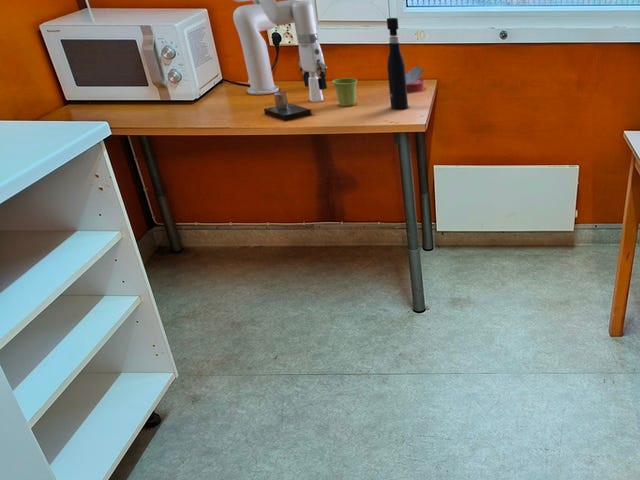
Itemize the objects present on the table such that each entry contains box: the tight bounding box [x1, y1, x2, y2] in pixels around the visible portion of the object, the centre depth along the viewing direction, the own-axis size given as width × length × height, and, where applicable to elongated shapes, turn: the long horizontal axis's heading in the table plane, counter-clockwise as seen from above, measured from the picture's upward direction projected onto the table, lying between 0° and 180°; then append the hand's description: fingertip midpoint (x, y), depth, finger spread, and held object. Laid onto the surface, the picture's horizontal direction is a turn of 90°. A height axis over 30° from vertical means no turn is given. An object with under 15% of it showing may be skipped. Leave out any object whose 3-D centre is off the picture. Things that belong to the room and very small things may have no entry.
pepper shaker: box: [308, 72, 325, 103], centre depth 249 cm, size 5×5×11 cm
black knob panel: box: [263, 102, 312, 122], centre depth 234 cm, size 14×11×2 cm
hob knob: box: [273, 91, 289, 109], centre depth 234 cm, size 4×4×5 cm
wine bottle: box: [386, 17, 409, 111], centre depth 232 cm, size 6×6×30 cm
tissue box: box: [405, 66, 425, 93], centre depth 263 cm, size 11×10×10 cm
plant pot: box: [331, 77, 358, 107], centre depth 243 cm, size 9×9×9 cm
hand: (315, 87), depth 249 cm, fingers open, 9 cm apart
